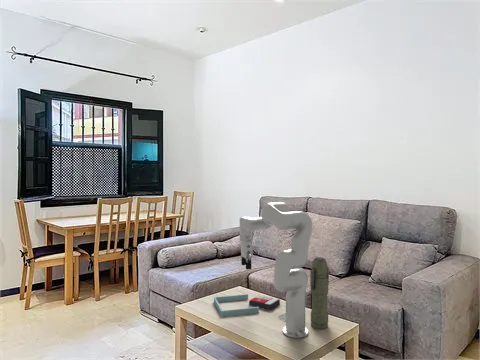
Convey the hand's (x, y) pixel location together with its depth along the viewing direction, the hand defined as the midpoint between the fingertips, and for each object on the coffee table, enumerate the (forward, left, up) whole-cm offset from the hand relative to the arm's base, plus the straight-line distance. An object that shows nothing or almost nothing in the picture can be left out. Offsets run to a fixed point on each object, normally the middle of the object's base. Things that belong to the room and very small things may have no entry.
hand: (246, 267), depth 219 cm
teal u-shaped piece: (0, +6, -23) cm, 24 cm away
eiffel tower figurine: (-21, -19, -24) cm, 37 cm away
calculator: (-1, -11, -24) cm, 26 cm away
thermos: (-36, -29, -23) cm, 52 cm away
